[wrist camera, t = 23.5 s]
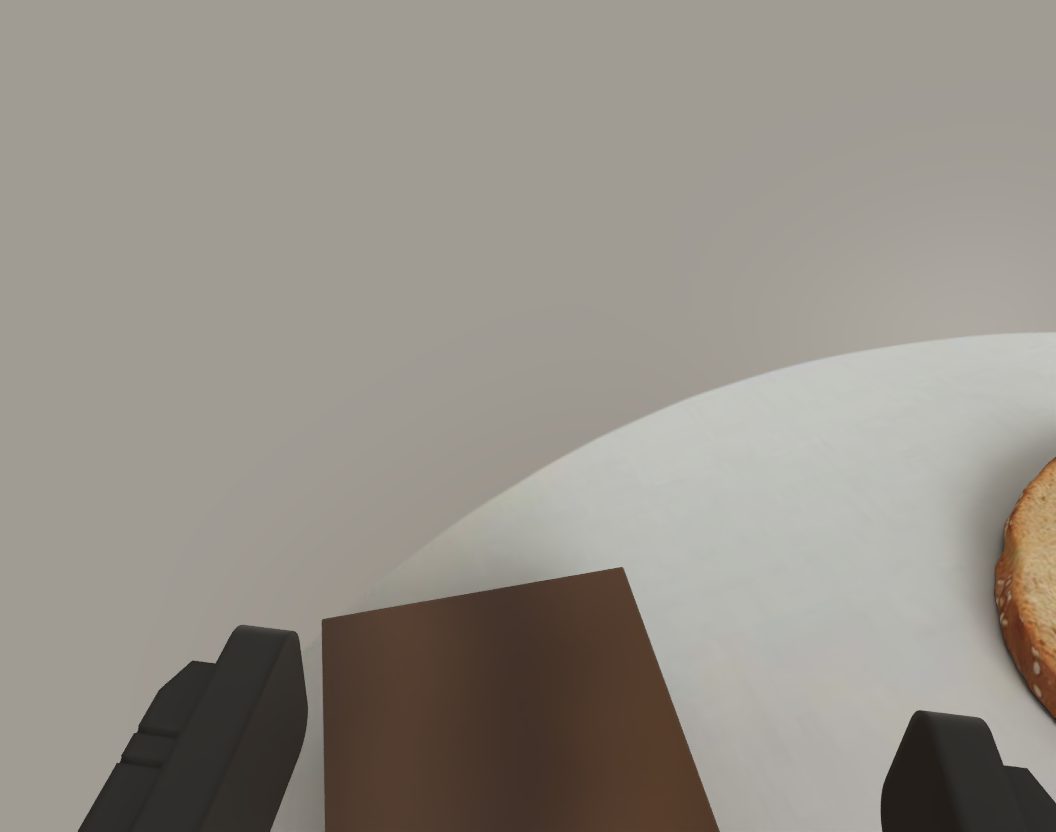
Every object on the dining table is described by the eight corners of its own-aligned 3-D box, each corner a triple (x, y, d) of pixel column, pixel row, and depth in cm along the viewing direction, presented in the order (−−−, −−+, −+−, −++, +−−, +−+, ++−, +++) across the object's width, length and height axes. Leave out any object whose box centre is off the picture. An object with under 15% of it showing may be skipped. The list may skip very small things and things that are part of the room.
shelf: (364, 1036, 30) (326, 948, 26) (350, 722, 39) (321, 618, 35) (710, 956, 32) (731, 860, 27) (619, 671, 41) (623, 565, 36)
